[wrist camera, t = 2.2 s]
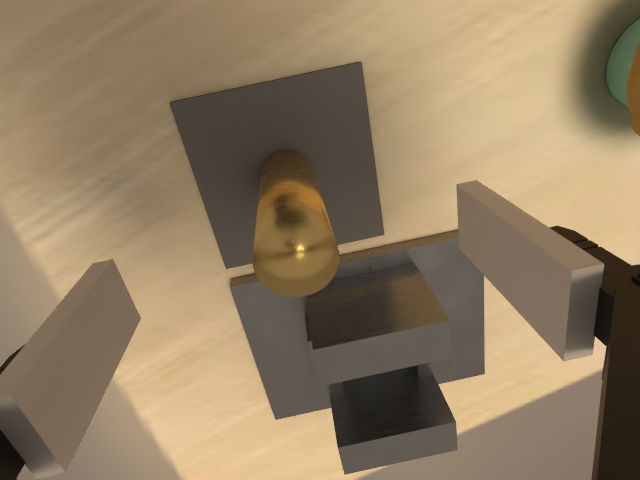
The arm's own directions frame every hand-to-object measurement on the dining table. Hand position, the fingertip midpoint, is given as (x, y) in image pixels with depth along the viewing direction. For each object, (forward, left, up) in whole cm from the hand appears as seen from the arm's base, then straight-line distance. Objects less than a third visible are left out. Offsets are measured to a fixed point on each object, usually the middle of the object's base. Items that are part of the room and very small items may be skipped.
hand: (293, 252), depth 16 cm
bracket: (+12, +3, -9) cm, 15 cm away
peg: (0, 0, -9) cm, 9 cm away
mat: (0, 0, -9) cm, 9 cm away
